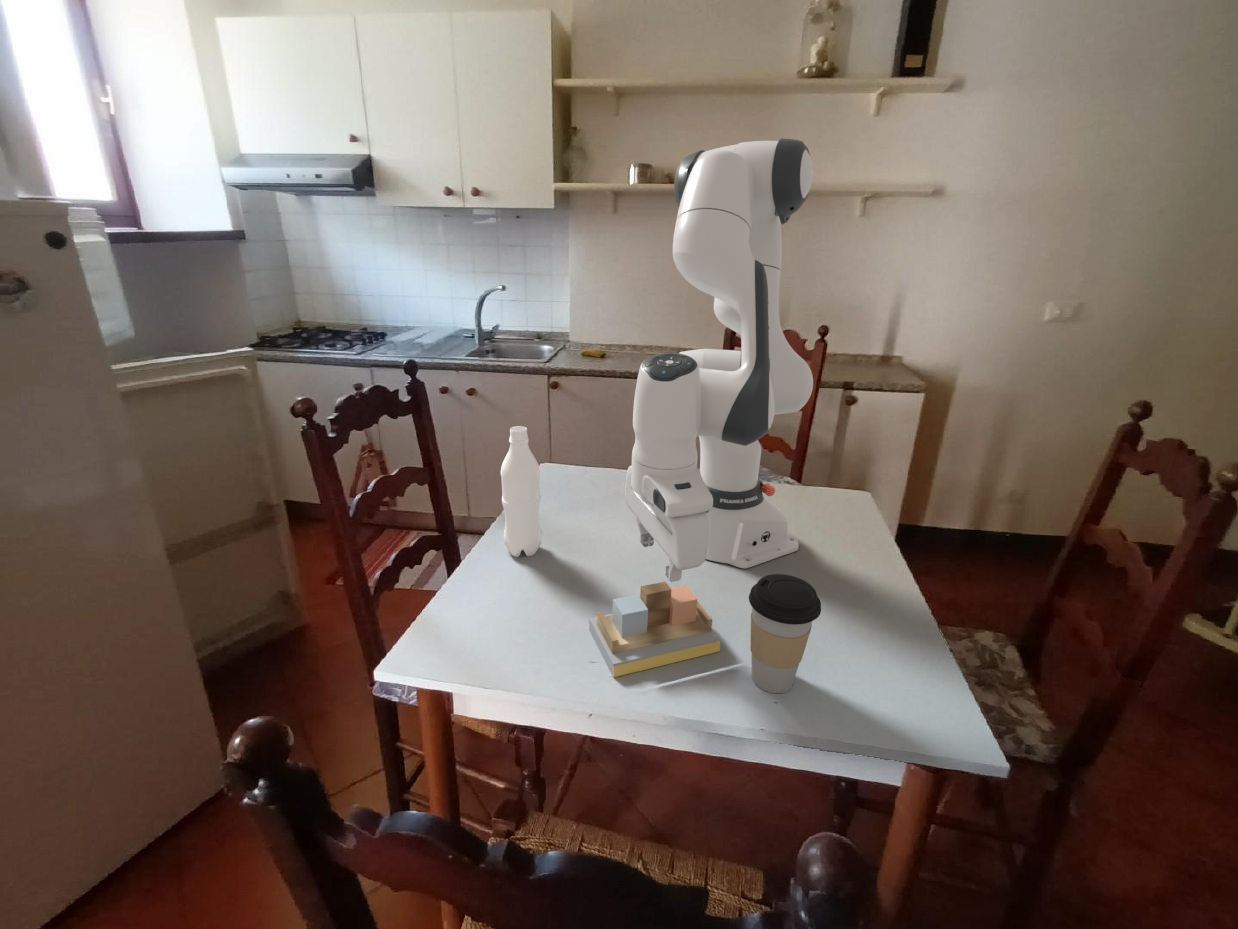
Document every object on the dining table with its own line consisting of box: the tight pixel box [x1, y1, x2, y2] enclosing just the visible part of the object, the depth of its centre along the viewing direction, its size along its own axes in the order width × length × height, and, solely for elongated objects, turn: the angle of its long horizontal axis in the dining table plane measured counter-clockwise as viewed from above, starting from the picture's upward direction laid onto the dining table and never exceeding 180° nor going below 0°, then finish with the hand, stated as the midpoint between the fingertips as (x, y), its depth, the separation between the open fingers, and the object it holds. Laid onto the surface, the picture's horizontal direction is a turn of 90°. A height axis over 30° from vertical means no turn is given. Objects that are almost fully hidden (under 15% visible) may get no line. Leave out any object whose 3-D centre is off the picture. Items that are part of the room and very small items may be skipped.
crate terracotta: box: [669, 584, 698, 626], centre depth 92 cm, size 4×4×4 cm
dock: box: [588, 612, 722, 678], centre depth 92 cm, size 17×11×2 cm, turn 110°
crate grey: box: [612, 593, 648, 637], centre depth 90 cm, size 4×4×4 cm
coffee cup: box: [748, 573, 822, 694], centre depth 83 cm, size 9×9×15 cm
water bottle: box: [500, 425, 543, 558], centre depth 112 cm, size 7×7×25 cm
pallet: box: [596, 581, 713, 654], centre depth 91 cm, size 16×7×7 cm, turn 110°
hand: (659, 560), depth 88 cm, fingers open, 8 cm apart
